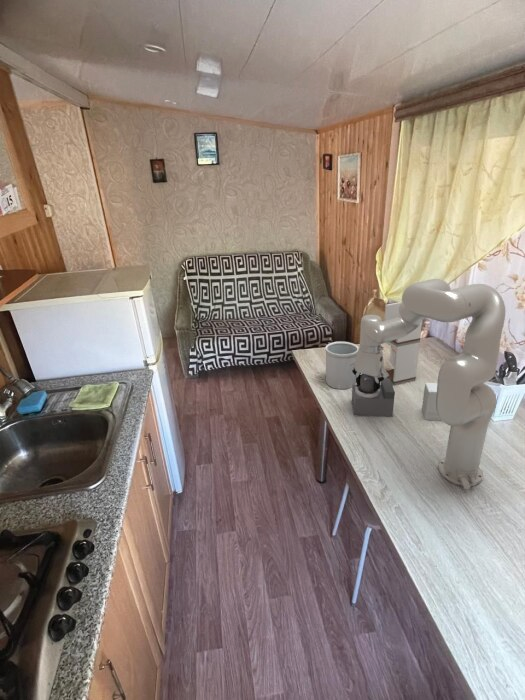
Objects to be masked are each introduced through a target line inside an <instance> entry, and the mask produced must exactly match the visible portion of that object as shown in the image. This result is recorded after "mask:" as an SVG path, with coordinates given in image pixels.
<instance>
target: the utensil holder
mask: <svg viewBox="0 0 525 700" xmlns="http://www.w3.org/2000/svg"><path fill="white" fill-rule="evenodd" d="M359 348H360V346H358V345H357V344H355V343H353V342H349V341H334V342H329V343H327V344H326V345H325V347H324V350H325V382H326V384H327V385H328V386H329V387H330V388H333V389H337V390H346V389H352V385H357V383H356V377H355V375H354V373H353V372H352V370H351V369H350V367H349V366H350V365H351V364H353V363H355V362H356V356H357V352H358V349H359Z"/></svg>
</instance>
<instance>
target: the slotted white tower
mask: <svg viewBox="0 0 525 700" xmlns="http://www.w3.org/2000/svg"><path fill="white" fill-rule="evenodd" d="M401 302H402V301H401ZM401 302H400V301H399V302H395V303H394V302H393V303H390V304H389V303H388V304H387V303H386V304H385V306H384V320H383V321H386V320H390V319H394V318H396V317H398V316H400V313H399V306H400V304H401ZM422 326H423V320H422V321H421V323H420V325H419V326H418V328H416V329H415V330H414V331H412V332H411V333H409V334H408V335H406V336H405V337H402V338H399V339H396V340H393V341H390V342H386V343H385V344H387V346H390V353H389V362H390V364H391V366H392V367H393V368H391V369H385V371H386V372H387V373H388V374H389V376H388V377H387V378H389V379H390V380H391V383H392V386H393V387H394V386H395V387H396V386H399V385H403V384H408V383H411V381H412V382H415V381H417V380H416V378H417V370H418V361H419V354H420V353H419V352H420V345H421V335H422ZM380 376H381V377H382V376H383V374H382V373H380ZM407 382H408V383H407Z"/></svg>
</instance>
